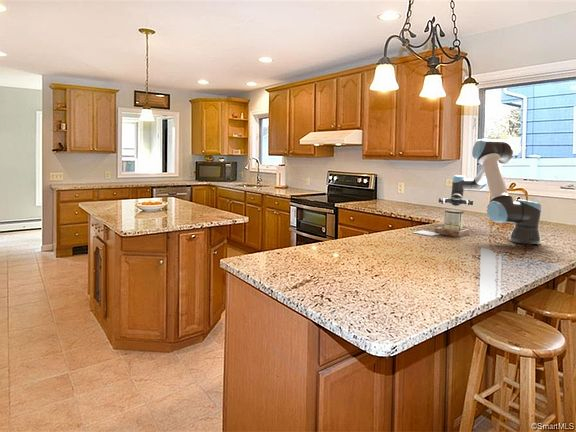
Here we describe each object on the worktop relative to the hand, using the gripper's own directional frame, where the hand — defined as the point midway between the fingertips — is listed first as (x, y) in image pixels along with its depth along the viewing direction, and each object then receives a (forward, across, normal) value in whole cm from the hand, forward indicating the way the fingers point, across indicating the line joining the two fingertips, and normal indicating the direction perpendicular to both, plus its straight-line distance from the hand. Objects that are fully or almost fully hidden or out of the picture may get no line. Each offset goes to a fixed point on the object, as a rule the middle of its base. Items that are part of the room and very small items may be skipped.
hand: (455, 202), depth 256 cm
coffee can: (+10, 0, -18) cm, 20 cm away
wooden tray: (+10, 0, -18) cm, 20 cm away
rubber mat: (+20, +13, -18) cm, 30 cm away
